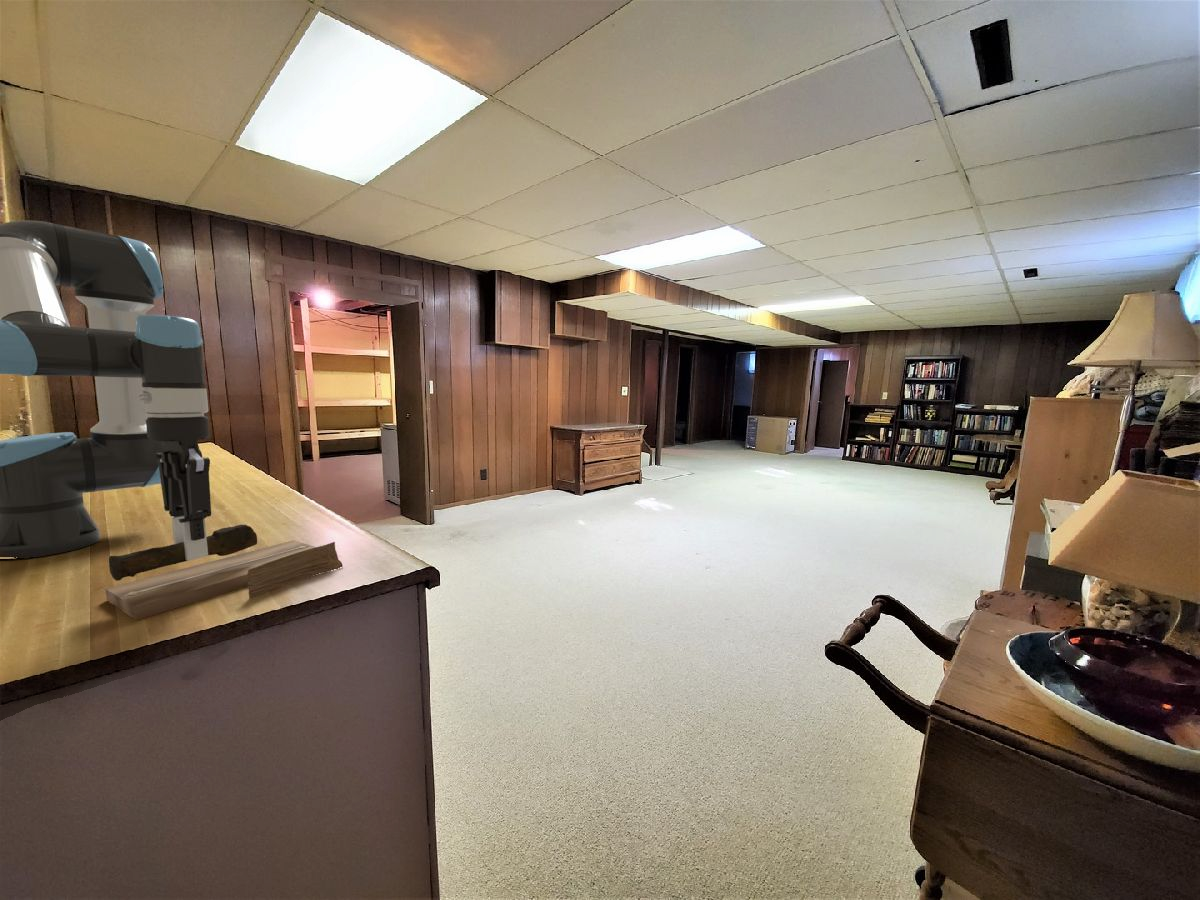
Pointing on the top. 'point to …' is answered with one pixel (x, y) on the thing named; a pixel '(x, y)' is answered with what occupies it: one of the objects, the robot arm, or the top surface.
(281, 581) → the wood plank
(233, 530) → the dark brown rod
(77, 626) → the top surface
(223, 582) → the board
